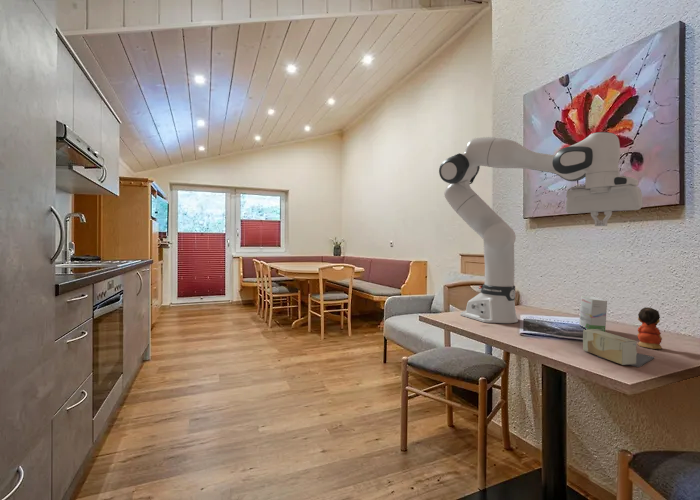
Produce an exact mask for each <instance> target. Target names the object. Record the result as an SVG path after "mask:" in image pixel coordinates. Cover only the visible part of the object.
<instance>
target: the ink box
mask: <svg viewBox="0 0 700 500" xmlns="http://www.w3.org/2000/svg"><path fill="white" fill-rule="evenodd" d="M579 308H580V309H579V311H580V312H579V325H581V326H583V327H585V328H587V329H597V330H601V331H604V332H606V326H607V325H606V323H607V310H608V300H605V299H603V298H600V297H599V296H587V295H581V296H580V307H579ZM579 325H578V326H579Z"/></svg>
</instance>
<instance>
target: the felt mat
mask: <svg viewBox="0 0 700 500" xmlns="http://www.w3.org/2000/svg"><path fill="white" fill-rule="evenodd" d="M597 358H600V359H604V360H607V361H609V360H608V359H606V358H603V357H600V356H598V355H597ZM654 359H655V356H653V355H647V354H642V353H639V352H637V355H636V364H634V365H631V366H632V367H636V368H640V367H642V366H643V365H646V364H647V363H648V362H650V361H652V360H654Z"/></svg>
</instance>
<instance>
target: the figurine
mask: <svg viewBox="0 0 700 500" xmlns="http://www.w3.org/2000/svg"><path fill="white" fill-rule="evenodd" d="M637 316H638V317H637V320H638V321H639V322H640V323H642V324H641V325H639V327H637V328H638V329H637V332H638V333H637V338H638V340H639V341H638V342H637V346H639V347H641V348H648V349H652V350H662V349H663V347H662V346H661V343H662V340H663V337H662V336H661V334H662V332H661V331H660V329H659V328H658V327H657V325H658V324H659V323H660V321H661V320H660V319H661V315H660V312H659V310H657V309H654V308H653V307H647V306H646V307H643V308H641V309H640V311H639V312H638V314H637Z"/></svg>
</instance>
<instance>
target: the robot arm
mask: <svg viewBox="0 0 700 500" xmlns="http://www.w3.org/2000/svg"><path fill="white" fill-rule="evenodd" d="M620 159H621V144H620V139H619V137H618V135H616V134H615V133H613V132H610V131H596V132H593V133H590V134H589V135H588V136H587V137H585V138H584V139H583V140H580V141H578V142H576V143H574V144H572V145H569V146H566V147H565V146H564V147H563V148H561V149H559V150H558V151H557V152H556V153H555V154H547V153H541V152H536V151H533V150H531V149H528V148H526V147H524V146H523V145H522V144H520V143H518V142H517V141H514V140H511V139H509V138H503V137H493V136H492V137H491V136H488V137H487V136H486V137H485V136H483V137H475V138H472V139H470V140H469V141H468V143H467V144H466V146H465V150H464V152H463V153H459V152H458V153H457V154H454V155H452V156H449V157H448V158H446V159H445V160H443V161H442V162H441V164H440V166H439V170H438V173H439V177H440V179H441V180H442V181H443V182H445V183H446V184H448V185H447V187H446V188H445V190H444V197H445V200H446V202H447V203H448V204H449V206H450V207H451V208H452V209H453V210H454V212H456V214H457V215H458V216H459V217H460V218H461V219H462V220H463V222H465V224H467V225H468V226H469V227H470V228H471V229H472V230H473V231H474V232H476V234H478V235H479V237H481V239H483V259H484V283H483V284H482V285H478V289H479V290H480V292H479V293H478V294H476V295H475V296H474V297H472V298H471V299H469V300H468V301H467V304H466V309H465V310H463V311H461V312H460V316H463V317H466V318H469V319H472V320H476V321H480V322H483V323H488V324H489V323H493V324H494V323H495V324H496V323H497V324H513V323H518V322H519V320H518V316H517V311H516V305H515V303H516V302H515V300H516V286H515V242H516V237H517V236H516V232H515V230H514V229H513V228H512V227H511V226H510V225H509V224H508V223H507V222H506V221H505V220H503V218H502V217H501V216H500V215H499V214H498V213H497V212H496V211H495V210H493V208H492V207H490V205H488V204H487V203H486V202H485V200H483V199H482V197H480V196H479V194H477V192H476V191H474V190H473V188H472V187H471V184H473V183H474V181H475V178H476V177H477V175H478V174H479V171H480V167H488V168H495V169H527V170H533V171H539V172H544V173H545V172H546V173H550V174H554V175H556V176H558V177H560V178H561V179H563V180H565V181H568V182H578V181H581V180H582V179H585V183H584V185H579V186H578V185H577V186H571V187H570V188H569V189H567V190H566V198H567V199H566V202H565V212H566V213H567V214H570V215H571V214H572V215H573V214H586V213H587V214H588V213H590V216H591V218H592V220H593V221H594V227H607V226H608V221H609V219H610V218H611V217H612V214H613V212H622V211H638V210H641V208H642V207H643V205H644V204H643V194H642V190H641V188H640V187H638V186H639V182H640V181H639V179H637V178H635V177H630V176H626V175H625V176H624V175H620V169H619V162H620ZM599 213H603V214H604V215H605V216H604V218H603V219H601V220H600V218H598V216H599Z"/></svg>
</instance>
